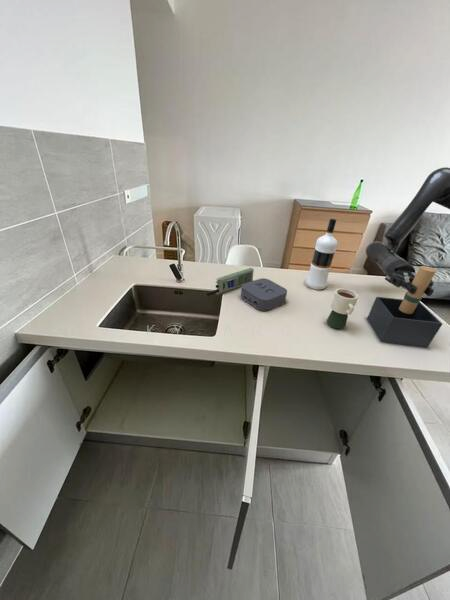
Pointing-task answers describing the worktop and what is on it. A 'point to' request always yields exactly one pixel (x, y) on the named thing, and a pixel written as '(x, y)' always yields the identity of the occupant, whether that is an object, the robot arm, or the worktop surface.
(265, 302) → the streaming box
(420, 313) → the bin
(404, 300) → the banded cardboard tube
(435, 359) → the worktop surface
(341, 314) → the character mug
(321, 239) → the vodka
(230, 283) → the handheld radio
